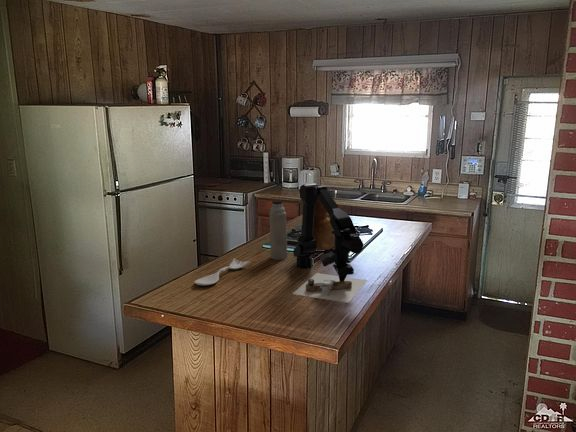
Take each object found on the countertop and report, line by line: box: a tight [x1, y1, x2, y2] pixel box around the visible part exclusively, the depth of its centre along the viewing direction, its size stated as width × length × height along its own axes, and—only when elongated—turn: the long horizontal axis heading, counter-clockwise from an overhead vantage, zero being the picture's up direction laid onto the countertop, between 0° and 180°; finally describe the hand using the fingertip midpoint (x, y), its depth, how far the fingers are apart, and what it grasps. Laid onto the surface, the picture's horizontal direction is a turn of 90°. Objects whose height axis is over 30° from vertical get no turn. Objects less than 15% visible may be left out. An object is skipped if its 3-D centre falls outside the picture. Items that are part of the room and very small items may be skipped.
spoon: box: [193, 258, 251, 286], centre depth 214 cm, size 9×32×4 cm, turn 150°
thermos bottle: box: [268, 200, 288, 261], centre depth 235 cm, size 8×8×28 cm
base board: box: [292, 272, 369, 304], centre depth 197 cm, size 23×25×1 cm
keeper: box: [320, 280, 335, 296], centre depth 191 cm, size 5×8×4 cm
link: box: [306, 281, 352, 292], centre depth 194 cm, size 19×4×2 cm, turn 97°
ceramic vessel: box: [313, 199, 334, 250], centre depth 244 cm, size 16×22×30 cm
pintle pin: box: [307, 278, 314, 285], centre depth 193 cm, size 2×2×2 cm
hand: (341, 283), depth 197 cm, fingers closed
